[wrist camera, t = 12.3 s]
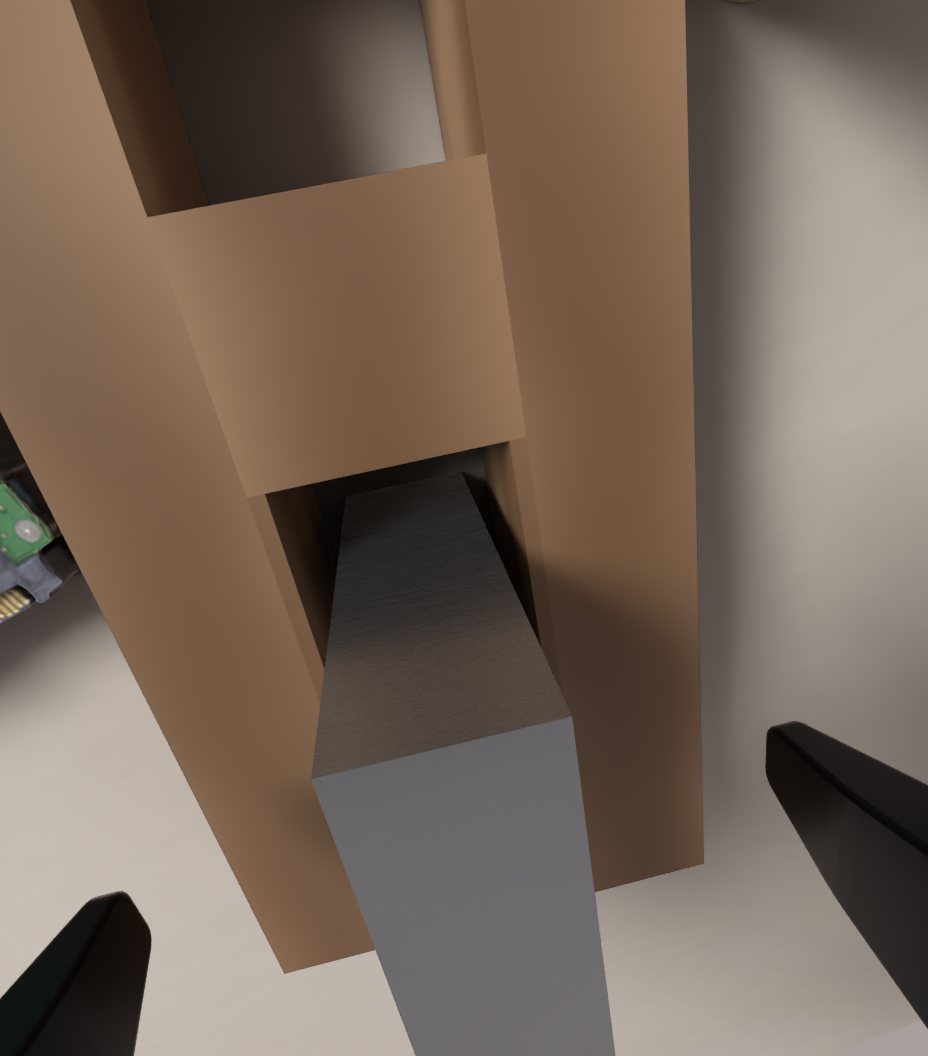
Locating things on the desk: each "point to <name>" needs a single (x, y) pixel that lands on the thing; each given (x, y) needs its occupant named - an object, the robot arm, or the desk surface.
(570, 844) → the tall grey rectangular prism
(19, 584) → the disk drive
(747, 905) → the desk surface
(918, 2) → the desk surface
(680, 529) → the socket board
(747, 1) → the round dowel
